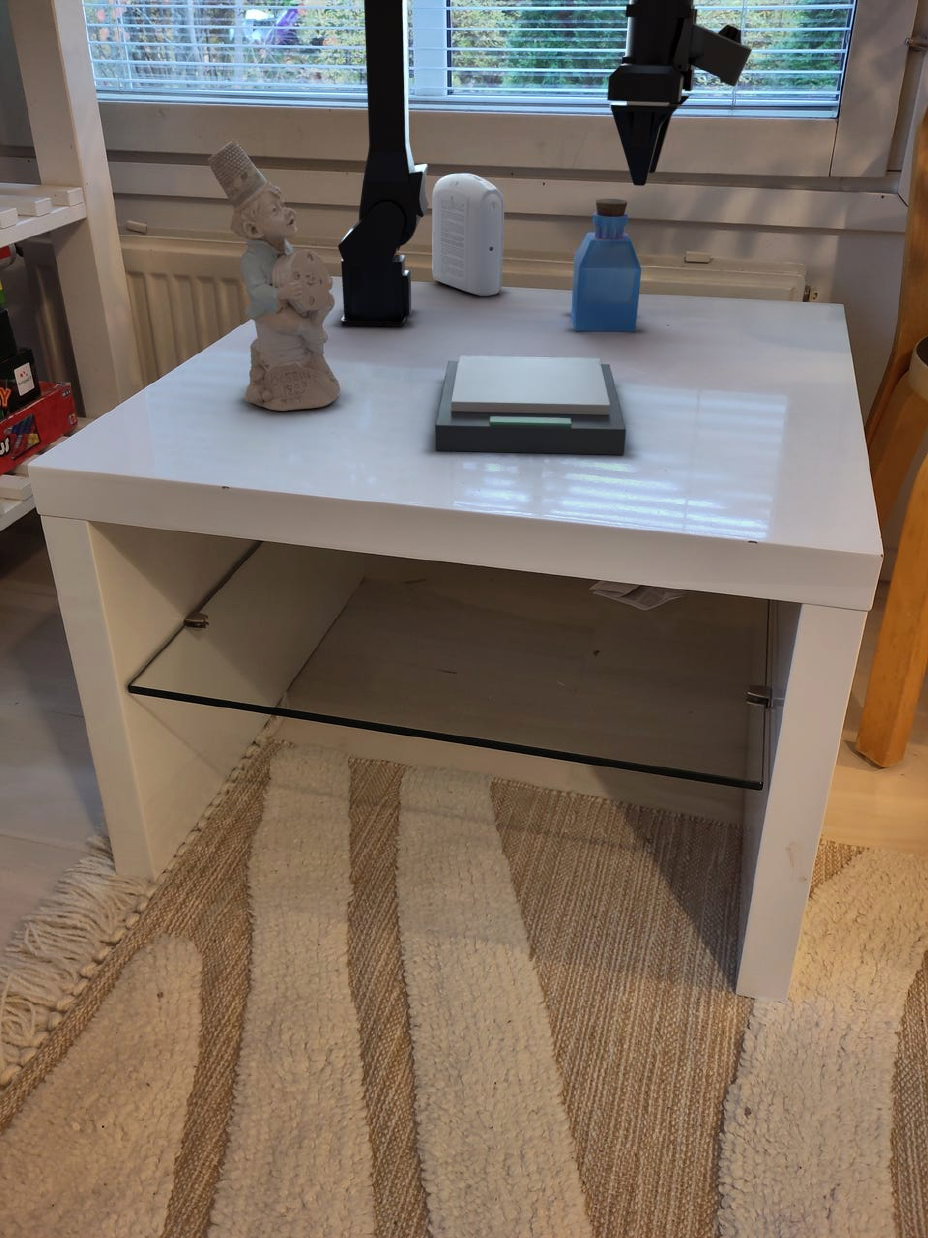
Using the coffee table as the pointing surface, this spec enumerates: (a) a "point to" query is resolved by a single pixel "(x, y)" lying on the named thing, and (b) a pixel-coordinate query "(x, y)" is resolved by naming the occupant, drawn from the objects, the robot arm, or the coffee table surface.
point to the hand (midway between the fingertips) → (644, 178)
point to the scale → (529, 406)
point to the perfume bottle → (606, 274)
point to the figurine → (278, 291)
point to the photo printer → (467, 234)
